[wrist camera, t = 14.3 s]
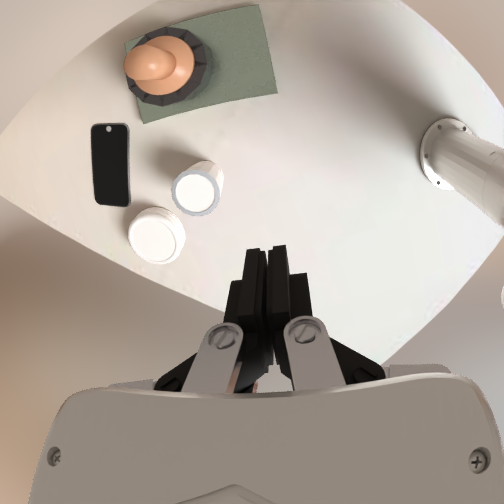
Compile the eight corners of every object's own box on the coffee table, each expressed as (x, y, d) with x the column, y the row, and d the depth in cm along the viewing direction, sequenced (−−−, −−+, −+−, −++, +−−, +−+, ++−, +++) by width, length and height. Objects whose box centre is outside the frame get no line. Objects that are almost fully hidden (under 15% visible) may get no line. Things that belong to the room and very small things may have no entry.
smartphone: (128, 123, 38) (130, 208, 46) (130, 122, 39) (132, 206, 47) (90, 124, 38) (95, 204, 46) (92, 123, 39) (96, 202, 47)
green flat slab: (258, 7, 28) (256, -7, 23) (277, 93, 35) (278, 93, 30) (128, 44, 31) (107, 40, 26) (147, 122, 38) (128, 129, 33)
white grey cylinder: (179, 161, 42) (165, 175, 36) (222, 152, 41) (213, 165, 35) (190, 201, 45) (178, 220, 40) (231, 194, 44) (225, 212, 38)
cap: (194, 32, 28) (169, 17, 20) (205, 85, 32) (184, 84, 24) (139, 51, 29) (102, 45, 21) (151, 100, 33) (116, 107, 25)
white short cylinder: (145, 257, 52) (138, 267, 49) (127, 211, 47) (118, 220, 44) (192, 251, 51) (187, 263, 48) (177, 201, 46) (170, 210, 43)
